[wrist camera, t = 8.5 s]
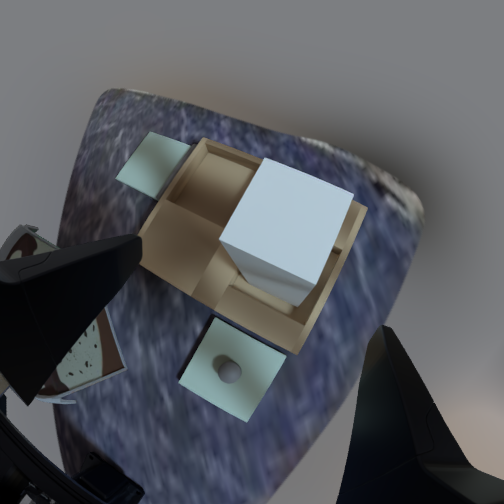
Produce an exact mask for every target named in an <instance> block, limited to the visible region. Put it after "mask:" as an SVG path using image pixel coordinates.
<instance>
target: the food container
mask: <svg viewBox="0 0 504 504" xmlns="http://www.w3.org/2000/svg"><path fill="white" fill-rule="evenodd" d="M37 230H38V227H34V226H30V225H25V226H22V225H19V226H18V227H17V228H16V229H15V230H14V231H13V232H12V233H11V234H10V236H9V237H8V238H7V239H6V241H5V243H4V244H3V246H2V247H1V249H0V261H4V260H9V259H15V258H20V257H26V256H31V255H36V254H40V253H45V252H49V251H54V250H58V249H60V248H59V247H57V246H55V245H53V244H52V243H50V242H49V241H47V240H45V239H44V238H42V237H40V236H39V235H37V234H36V233H35V232H36V231H37ZM126 370H128V368H127V366H126V363H125V360H124V358H123V355H122V352H121V349H120V346H119V343H118V340H117V337H116V334H115V331H114V328H113V325H112V321H111V318H110V315H109V311H108V308H107V305H106V307H105V308H104V309H103V310H102V311H101V313H100V314H99V315H98V316H97V317H96V318H95V320H94V321H93V322H92V323H91V325H90V326H89V327H88V328H87V329H86V331H85V332H84V333H83V334H82V336H81V337H80V338H79V339H78V341H77V342H76V343H75V344H74V346H73V347H72V348H71V349H70V351H69V352H68V353H67V354H66V356H65V357H64V358H63V360H62V361H61V362H60V364H59V365H58V366H57V368H56V369H55V370H54V372H53V373H52V374H51V376H50V377H49V378H48V380H47V381H46V383H45V384H44V385H43V387H42V388H41V389H40V391H39V392H38V394H37V395H36V396H35V399H37V400H40V401H43V402H49V403H59V404H72V403H76V401H75V400H63V399H61V397H64V396H66V395H69V394H71V393H74V392H76V391H79V390H81V389H84V388H86V387H88V386H91V385H93V384H96V383H98V382H100V381H103V380H105V379H107V378H110V377H112V376H114V375H117V374H119V373H121V372H124V371H126Z"/></svg>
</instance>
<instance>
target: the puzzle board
mask: <svg viewBox="0 0 504 504" xmlns="http://www.w3.org/2000/svg"><path fill="white" fill-rule="evenodd" d="M262 162H263V160H262V159H260V158H257V157H255V156H252V155H250V154H247V153H245V152H242V151H240V150H237V149H234V148H232V147H229V146H226V145H224V144H221V143H218V142H215V141H212V140H210V139H207V138H204V137H203V138H202V140H201V141H200V142H199V144H198V145H197V144H192V146H190V145H187V144H184V143H182V142H179V141H176V140H173V139H170V138H167V137H164V136H161V135H158V134H156V133H153V132H149V134H148V135H147V136H146V137H145V139H144V140H143V141H142V142H141V144H140V145H139V146H138V148H137V149H136V150H135V152H134V153H133V154H132V156H131V157H130V159H129V160H128V161H127V163H126V164H125V166H124V167H123V168H122V170H121V171H120V173H119V174H118V176H117V177H116V179H117V180H118V181H119V182H121V183H123V184H125V185H127V186H129V187H131V188H133V189H135V190H137V191H139V192H141V193H143V194H145V195H147V196H149V197H151V198H153V199H155V200H157V201H158V203H157V204H156V206H155V207H154V209H153V211H152V212H151V214H150V215H149V217H148V219H147V220H146V222H145V223H144V225H143V227H142V228H141V230H140V232H139V233H138V235H137V236H140V237H141V238H142V248H143V256H142V260H141V262H140V263H139V264H140V265H142V266H143V267H145V268H146V269H148V270H149V271H151V272H152V273H154V274H156V275H157V276H159V277H160V278H162V279H163V280H165V281H167V282H168V283H170V284H171V285H173V286H175V287H176V288H178V289H180V290H181V291H183V292H184V293H186V294H188V295H189V296H191V297H193V298H194V299H196V300H198V301H199V302H201V303H203V304H205V305H206V306H208V307H210V308H211V309H213V310H215V311H217V312H218V313H220V314H222V315H223V316H225V317H227V318H229V319H231V320H232V321H234V322H236V323H238V324H239V325H241V326H243V327H245V328H247V329H248V330H250V331H252V332H254V333H256V334H258V335H260V336H261V337H263V338H265V339H267V340H269V341H271V342H273V343H275V344H276V345H278V346H280V347H282V348H284V349H286V350H288V351H290V352H292V353H294V354H296V355H298V353H299V351H300V349H301V348H302V346H303V344H304V342H305V340H306V338H307V337H308V335H309V333H310V331H311V329H312V327H313V325H314V323H315V321H316V319H317V318H318V316H319V314H320V312H321V310H322V308H323V306H324V304H325V302H326V300H327V298H328V296H329V294H330V292H331V290H332V288H333V285H334V283H335V281H336V279H337V277H338V275H339V273H340V271H341V269H342V266H343V264H344V262H345V260H346V258H347V255H348V253H349V251H350V249H351V246H352V244H353V242H354V240H355V237H356V235H357V233H358V230H359V228H360V226H361V223H362V221H363V218H364V216H365V214H366V211H367V209H368V208H367V207H365V206H363V205H361V204H359V203H357V202H355V201H353V200H352V201H351V203H350V206H349V209H348V211H347V214H346V216H345V219H344V221H343V223H342V226H341V228H340V231H339V233H338V236H337V238H336V240H335V243H334V245H333V247H332V250H331V252H330V254H329V257H328V259H327V261H326V264H325V266H324V268H323V270H322V273H321V275H320V277H319V279H318V281H317V284H316V285H315V287H314V288H313V289H312V290H311V292H310V293H309V294H308V295H307V297H306V298H305V299H304V300H303V302H302V303H301V304H300V305H299V306H298V307H296V306H294V305H291V304H289V303H287V302H285V301H283V300H281V299H279V298H277V297H275V296H273V295H271V294H268V293H266V292H264V291H262V290H260V289H258V288H256V287H254V286H252V285H250V284H249V283H248V282H247V280H246V279H245V277H244V276H243V275H242V273H241V272H240V270H239V269H238V267H237V266H236V264H235V263H234V261H233V260H232V258H231V257H230V255H229V254H228V252H227V251H226V249H225V248H224V246H223V245H222V243H221V242H220V240H219V238H220V236H221V234H222V233H223V231H224V229H225V227H226V225H227V224H228V222H229V220H230V218H231V216H232V215H233V213H234V211H235V209H236V207H237V206H238V204H239V202H240V200H241V198H242V197H243V195H244V193H245V191H246V190H247V188H248V186H249V184H250V183H251V181H252V179H253V177H254V176H255V174H256V172H257V170H258V169H259V167H260V165H261V163H262ZM286 357H287V356H286V355H284V354H282V353H280V352H279V351H277V350H275V349H273V348H271V347H269V346H267V345H265V344H263V343H262V342H260V341H258V340H256V339H254V338H252V337H250V336H249V335H247V334H245V333H243V332H241V331H240V330H238V329H236V328H234V327H232V326H231V325H229V324H227V323H225V322H224V321H222V320H220V319H218V318H217V317H215V319H214V320H213V322H212V324H211V326H210V328H209V329H208V331H207V333H206V335H205V336H204V338H203V340H202V342H201V344H200V345H199V347H198V349H197V351H196V352H195V354H194V356H193V358H192V360H191V361H190V363H189V365H188V367H187V369H186V370H185V372H184V374H183V376H182V377H181V379H180V381H179V383H180V384H181V385H183V386H184V387H186V388H188V389H189V390H191V391H192V392H194V393H196V394H197V395H199V396H201V397H202V398H204V399H205V400H207V401H209V402H211V403H212V404H214V405H216V406H217V407H219V408H221V409H223V410H225V411H226V412H228V413H230V414H232V415H234V416H236V417H237V418H239V419H241V420H243V421H245V422H247V421H248V420H249V418H250V417H251V415H252V414H253V412H254V410H255V409H256V407H257V406H258V404H259V402H260V401H261V399H262V397H263V396H264V394H265V393H266V391H267V389H268V388H269V386H270V384H271V383H272V381H273V379H274V377H275V376H276V374H277V372H278V371H279V369H280V367H281V365H282V364H283V362H284V360H285V358H286Z"/></svg>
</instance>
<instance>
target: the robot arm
mask: <svg viewBox="0 0 504 504" xmlns="http://www.w3.org/2000/svg"><path fill="white" fill-rule="evenodd" d="M142 256H143V248H142V238H141V237H140V236H137V235H135V234H128V235H123V236H118V237H113V238H109V239H104V240H99V241H94V242H90V243H85V244H80V245H76V246H71V247H67V248H62V249H58V250H54V251H49V252H45V253H40V254H36V255H31V256H26V257H20V258H15V259H9V260H4V261H0V504H138V503H139V502H140V500H141V499H142V497H143V496H144V494H145V492H144V490H143V489H142V488H140V487H139V486H137V485H136V484H134V483H133V482H131V481H130V480H129V479H127V478H126V477H124V476H123V475H122V474H120V473H119V472H118V471H116V470H115V469H114V468H112V467H111V466H110V465H109V464H107V463H106V462H105V461H104V460H102V459H101V458H100V457H99V456H97V455H96V454H95V453H94V452H90V453H88V454H87V456H86V459H85V461H84V463H83V466H82V468H81V471H80V473H78V474H76V475H74V476H72V477H71V478H70V477H69V476H68V475H67V474H65V473H64V472H63V471H62V470H60V469H59V468H58V467H57V466H56V465H54V464H53V463H52V462H51V461H50V460H49V459H48V458H47V457H45V456H44V455H43V454H42V453H41V452H40V451H39V450H38V449H37V448H35V446H33V444H32V443H31V442H30V441H29V440H28V439H27V438H25V436H24V435H23V434H22V433H21V432H20V431H19V430H18V429H17V428H16V427H15V426H14V425H13V424H12V423H11V421H10V420H9V419H8V418H7V417H6V396H5V395H4V393H5V392H6V390H7V389H8V388H9V387H10V388H11V389H12V390H13V391H14V393H16V395H17V396H18V397H19V398H20V399H21V400H22V401H23V402H24V403H25V404H26V405H27V406H29V405H30V403H31V402H32V401H33V399H34V398H35V396H36V395H37V394H38V392H39V391H40V389H41V388H42V387H43V385H44V384H45V383H46V381H47V380H48V378H49V377H50V376H51V374H52V373H53V372H54V370H55V369H56V368H57V366H58V365H59V364H60V362H61V361H62V360H63V358H64V357H65V356H66V354H67V353H68V352H69V351H70V349H71V348H72V347H73V346H74V344H75V343H76V342H77V341H78V339H79V338H80V337H81V336H82V334H83V333H84V332H85V331H86V329H87V328H88V327H89V326H90V325H91V323H92V322H93V321H94V320H95V318H96V317H97V316H98V315H99V314H100V313H101V311H102V310H103V309H104V308H105V307H106V305H107V304H108V303H109V302H110V301H111V300H112V299H113V297H114V296H115V295H116V294H117V293H118V292H119V290H120V289H121V288H122V286H123V285H124V284H125V282H126V281H127V280H128V278H129V277H130V275H131V274H132V273H133V271H134V270H135V268H136V267H137V266H138V264H139V263H140V262H141V260H142ZM433 402H434V401H433V399H432V397H431V395H430V393H429V391H428V389H427V388H426V386H425V384H424V382H423V380H422V379H421V377H420V375H419V373H418V372H417V370H416V368H415V366H414V365H413V363H412V361H411V359H410V358H409V356H408V355H407V353H406V351H405V349H404V348H403V346H402V344H401V342H400V341H399V339H398V338H397V336H396V334H395V333H394V331H393V330H392V328H390V327H387V326H384V325H380V326H379V327H378V329H377V330H376V332H375V333H374V335H373V336H372V338H371V339H370V341H369V343H368V346H367V351H366V356H365V360H364V365H363V369H362V374H361V378H360V383H359V389H358V396H357V404H356V411H355V417H354V423H353V429H352V435H351V441H350V446H349V451H348V457H347V461H346V465H345V470H344V475H343V478H342V483H341V487H340V491H339V495H338V498H337V501H336V504H504V480H501V479H499V478H496V477H494V476H491V475H489V474H486V473H484V472H482V471H479V470H477V469H476V468H474V467H473V466H472V465H471V464H470V463H469V461H468V460H467V458H466V457H465V455H464V453H463V452H462V450H461V448H460V447H459V445H458V443H457V441H456V440H455V438H454V436H453V435H452V433H451V432H450V430H449V428H448V426H447V425H446V423H445V421H444V420H443V417H442V416H441V414H440V412H439V410H438V408H437V406H436V404H435V403H433ZM138 491H139V492H140V493H139V492H138Z"/></svg>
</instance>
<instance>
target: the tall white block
mask: <svg viewBox="0 0 504 504" xmlns="http://www.w3.org/2000/svg"><path fill="white" fill-rule="evenodd" d="M353 196H354V194H352V193H350V192H348V191H345V190H343V189H341V188H339V187H336V186H334V185H332V184H330V183H327V182H325V181H323V180H320V179H318V178H315V177H313V176H311V175H308V174H306V173H303V172H301V171H298V170H296V169H293V168H291V167H288V166H286V165H283V164H280V163H278V162H275V161H272V160H270V159H267V158H264V160H263V162H262V163H261V165H260V167H259V169H258V170H257V172H256V174H255V176H254V177H253V179H252V181H251V183H250V184H249V186H248V188H247V190H246V191H245V193H244V195H243V197H242V198H241V200H240V202H239V204H238V206H237V207H236V209H235V211H234V213H233V215H232V216H231V218H230V220H229V222H228V224H227V225H226V227H225V229H224V231H223V233H222V234H221V236H220V238H219V240H220V242H221V243H222V245H223V246H224V248H225V249H226V251H227V252H228V254H229V255H230V257H231V258H232V260H233V261H234V263H235V264H236V266H237V267H238V269H239V270H240V272H241V273H242V275H243V276H244V277H245V279H246V280H247V282H248V283H249V284H250V285H252V286H254V287H256V288H258V289H260V290H262V291H264V292H266V293H268V294H271V295H273V296H275V297H277V298H279V299H281V300H283V301H285V302H287V303H289V304H291V305H294V306H296V307H298V306H299V305H300V304H301V303H302V302H303V300H304V299H305V298H306V297H307V295H308V294H309V293H310V292H311V290H312V289H313V288H314V287H315V285H316V284H317V281H318V279H319V277H320V275H321V273H322V270H323V268H324V266H325V264H326V261H327V259H328V257H329V254H330V252H331V250H332V247H333V245H334V243H335V240H336V238H337V236H338V233H339V231H340V228H341V226H342V223H343V221H344V219H345V216H346V214H347V211H348V209H349V206H350V203H351V201H352V198H353Z"/></svg>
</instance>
